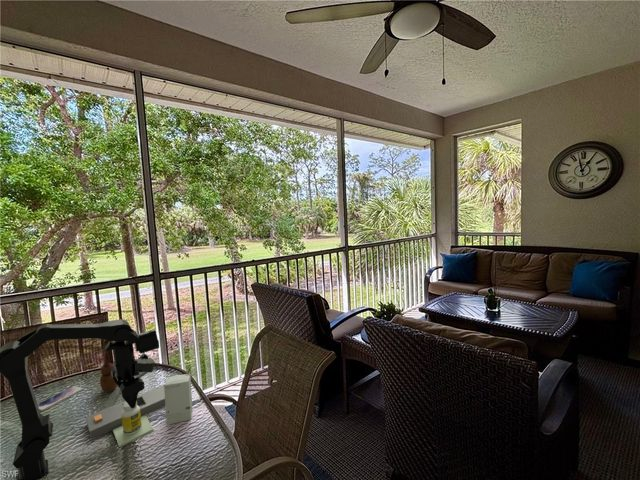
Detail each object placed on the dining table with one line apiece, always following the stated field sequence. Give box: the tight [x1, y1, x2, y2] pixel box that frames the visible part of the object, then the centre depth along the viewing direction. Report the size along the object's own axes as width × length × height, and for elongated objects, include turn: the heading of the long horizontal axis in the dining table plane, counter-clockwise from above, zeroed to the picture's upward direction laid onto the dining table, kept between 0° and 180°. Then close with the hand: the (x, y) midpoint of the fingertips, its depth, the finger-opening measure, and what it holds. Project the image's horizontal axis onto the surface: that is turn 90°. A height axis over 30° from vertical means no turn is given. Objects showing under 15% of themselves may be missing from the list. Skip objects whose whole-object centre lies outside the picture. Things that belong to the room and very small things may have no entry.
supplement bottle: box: [121, 401, 142, 435], centre depth 103 cm, size 5×5×10 cm
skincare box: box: [163, 373, 193, 426], centre depth 109 cm, size 8×6×15 cm
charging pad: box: [112, 414, 154, 448], centre depth 104 cm, size 10×10×1 cm
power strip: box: [85, 384, 165, 440], centre depth 113 cm, size 28×10×4 cm, turn 134°
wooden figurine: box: [99, 354, 118, 393], centre depth 127 cm, size 7×6×15 cm
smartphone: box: [37, 385, 85, 413], centre depth 124 cm, size 7×1×15 cm
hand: (130, 401), depth 102 cm, fingers open, 9 cm apart
